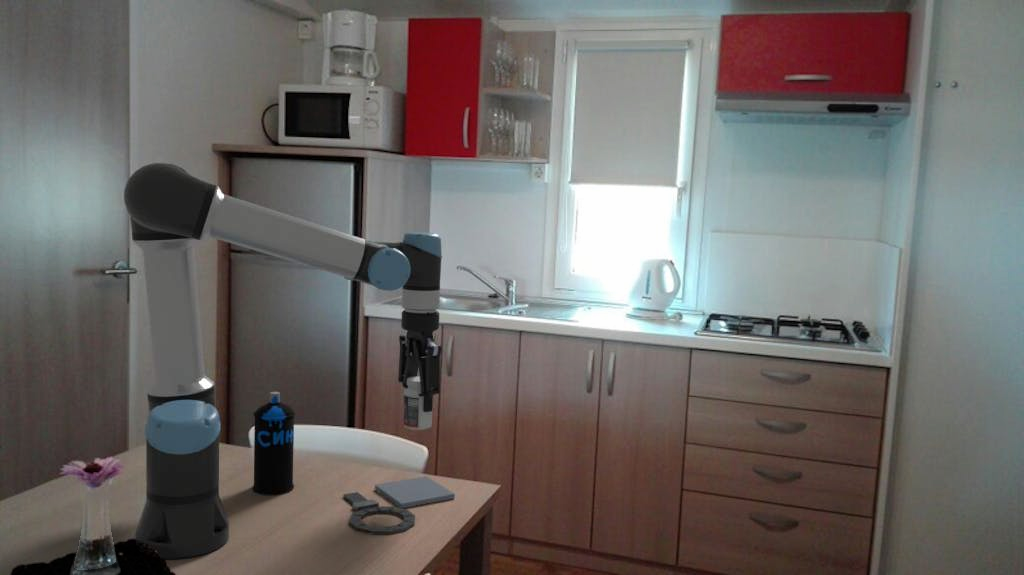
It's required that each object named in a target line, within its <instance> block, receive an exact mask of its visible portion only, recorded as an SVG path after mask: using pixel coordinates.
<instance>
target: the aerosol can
mask: <svg viewBox="0 0 1024 575" xmlns="http://www.w3.org/2000/svg"><path fill="white" fill-rule="evenodd" d="M280 398H281V393H280V392H279V391H271V392H269V402H266V403H264V404H262V405H260V406H259V407H258V408H257V409H256V410H255V411H254V412H253V413H252V414H253V417H254V433H253V434H254V436H253V437H254V438H253V440H254V442H253V444H254V445H253V449H254V450H253V451H254V452H253V456H254V457H253V486H252V491H253V492H254V493H256V494H259V495H264V496H277V495H278V496H279V495H284V494H287V493H289V492H291V491H292V490H294V488H295V484H294V443H295V442H294V438H295V436H294V434H295V433H294V432H295V431H294V430H295V416H296V411H295V410H293V408H292V407H291V406H290V405H288V404H286V403H283V402H281V400H280Z"/></svg>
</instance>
